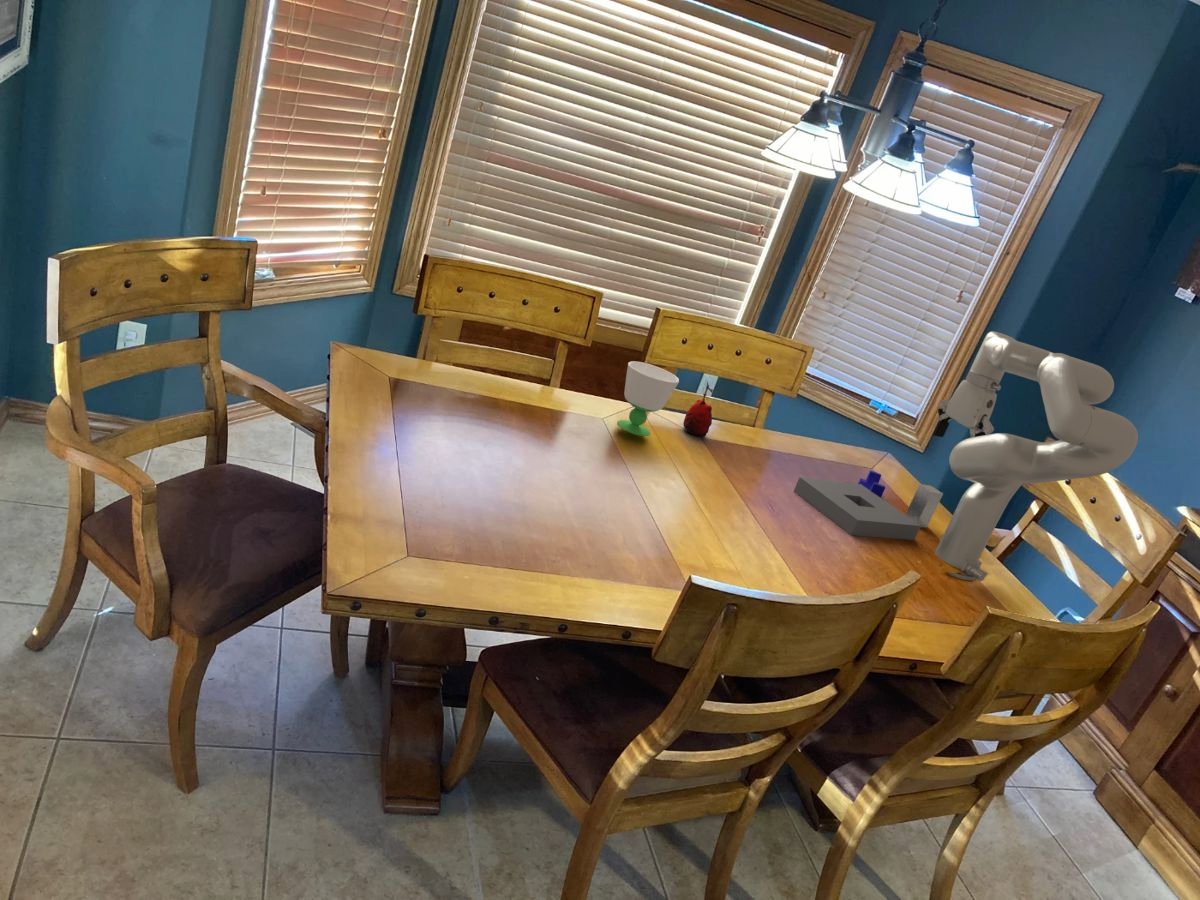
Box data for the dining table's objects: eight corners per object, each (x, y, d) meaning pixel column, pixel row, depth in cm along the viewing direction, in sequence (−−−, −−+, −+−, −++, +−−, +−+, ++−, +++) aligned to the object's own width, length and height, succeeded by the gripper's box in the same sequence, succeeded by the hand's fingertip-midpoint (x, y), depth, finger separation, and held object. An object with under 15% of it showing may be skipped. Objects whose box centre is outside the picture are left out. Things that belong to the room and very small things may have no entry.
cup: (640, 420, 251) (660, 365, 246) (668, 442, 241) (690, 385, 236) (598, 415, 243) (618, 358, 238) (626, 437, 233) (647, 378, 228)
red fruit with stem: (711, 437, 258) (730, 386, 253) (697, 438, 252) (716, 387, 248) (689, 425, 262) (708, 375, 257) (675, 426, 256) (694, 375, 252)
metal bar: (926, 527, 244) (943, 493, 241) (915, 526, 241) (931, 492, 238) (914, 519, 247) (930, 485, 244) (903, 518, 245) (919, 484, 242)
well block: (914, 540, 231) (920, 525, 229) (850, 535, 219) (857, 520, 218) (855, 497, 248) (861, 484, 247) (793, 491, 236) (799, 476, 235)
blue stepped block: (856, 487, 258) (865, 468, 256) (872, 493, 258) (880, 474, 256) (859, 501, 247) (868, 481, 245) (876, 508, 246) (885, 487, 244)
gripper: (1018, 397, 227) (987, 461, 233) (965, 371, 241) (936, 431, 246) (999, 393, 223) (968, 458, 229) (946, 366, 237) (917, 428, 242)
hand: (951, 444), depth 237 cm, fingers open, 9 cm apart
